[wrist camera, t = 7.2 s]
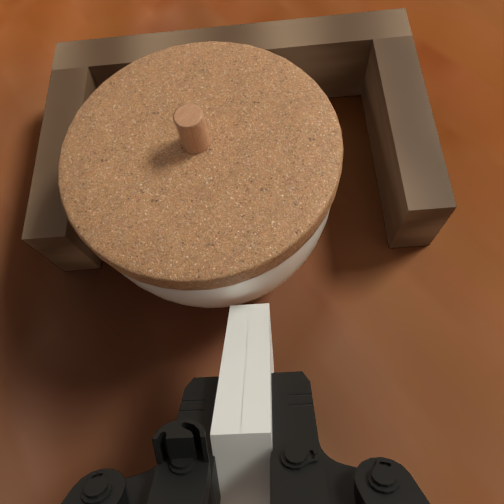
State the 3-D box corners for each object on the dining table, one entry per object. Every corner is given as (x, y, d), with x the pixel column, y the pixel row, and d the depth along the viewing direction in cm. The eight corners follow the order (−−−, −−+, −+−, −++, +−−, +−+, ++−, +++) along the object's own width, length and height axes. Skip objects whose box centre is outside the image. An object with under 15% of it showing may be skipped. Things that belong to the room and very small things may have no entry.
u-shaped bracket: (63, 271, 23) (21, 239, 20) (86, 94, 28) (56, 42, 24) (428, 245, 22) (456, 207, 19) (389, 66, 27) (405, 8, 23)
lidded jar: (85, 250, 24) (-31, 143, 15) (216, 120, 26) (181, -34, 18) (236, 381, 20) (197, 338, 12) (368, 217, 23) (414, 85, 15)
